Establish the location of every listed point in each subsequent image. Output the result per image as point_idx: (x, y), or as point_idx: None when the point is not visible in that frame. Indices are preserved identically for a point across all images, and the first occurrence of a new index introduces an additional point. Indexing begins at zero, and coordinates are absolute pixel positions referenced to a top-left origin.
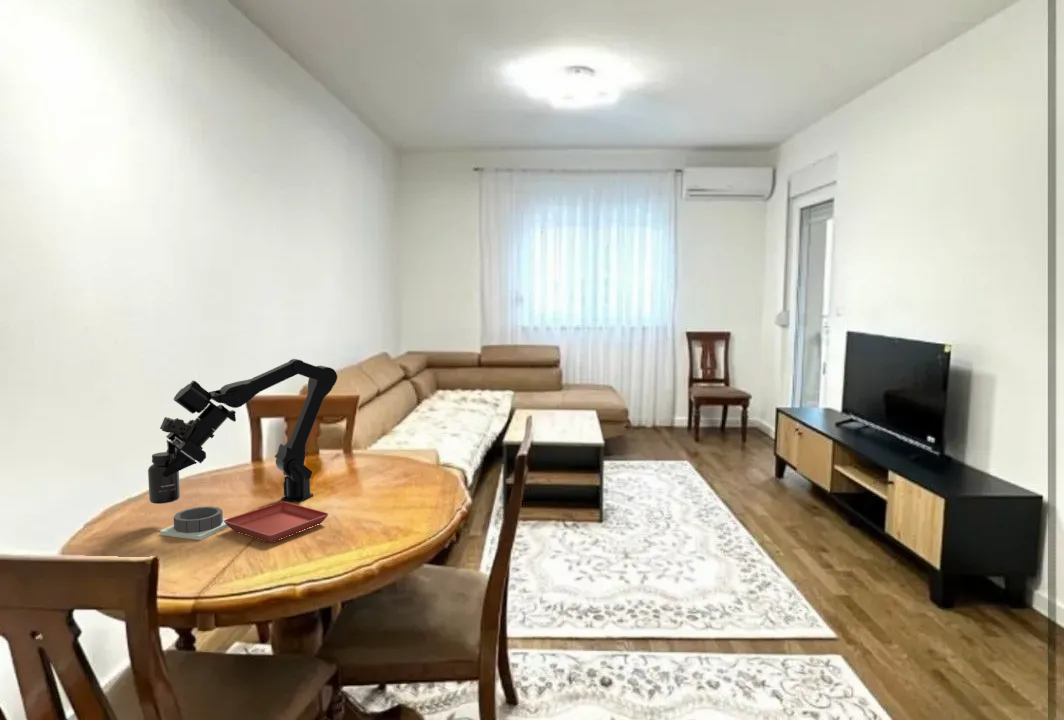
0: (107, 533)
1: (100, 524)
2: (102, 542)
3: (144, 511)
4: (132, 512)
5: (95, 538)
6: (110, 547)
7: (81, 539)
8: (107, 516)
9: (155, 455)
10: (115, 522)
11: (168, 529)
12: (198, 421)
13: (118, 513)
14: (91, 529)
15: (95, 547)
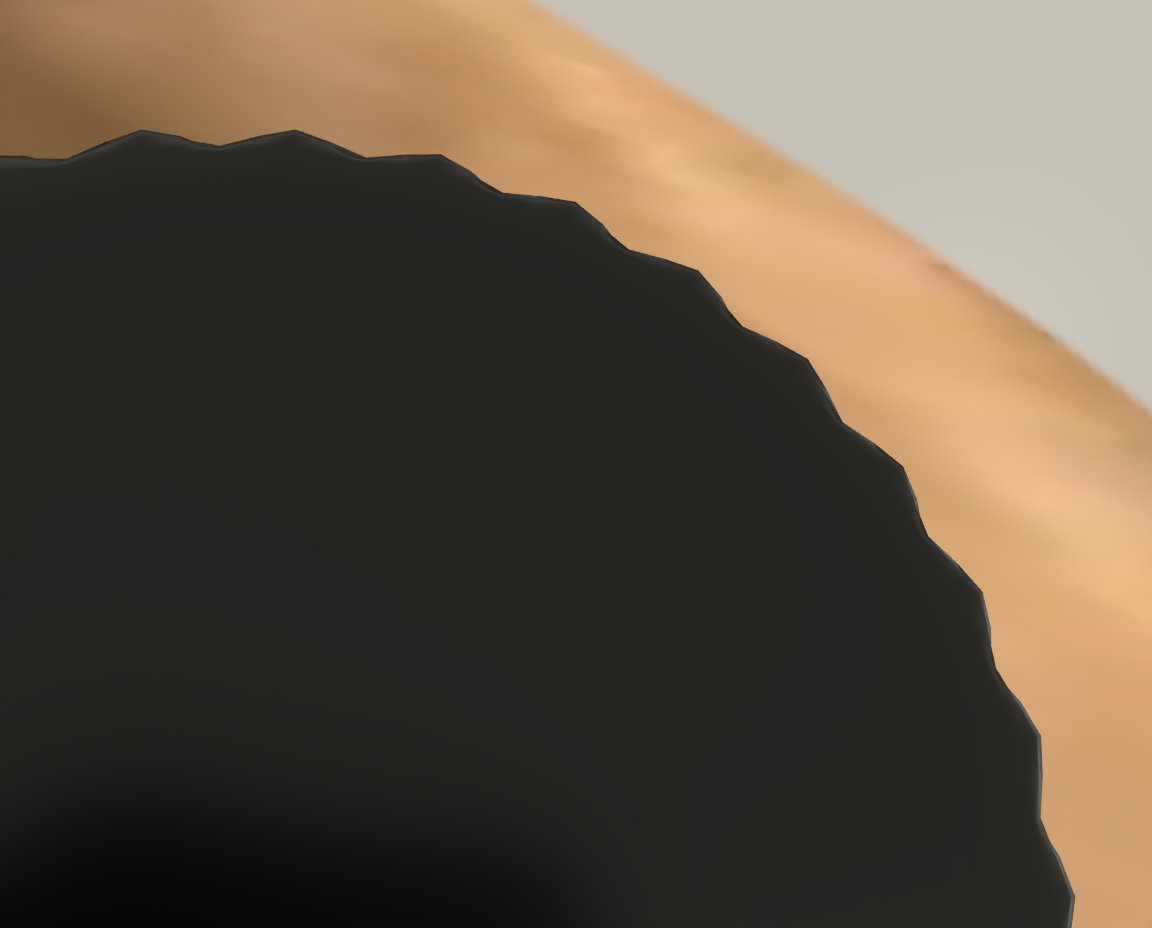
0: None
1: (872, 282)
2: (248, 97)
3: (1047, 774)
4: (1092, 655)
5: (439, 102)
6: (7, 87)
7: (514, 20)
8: (1106, 418)
9: (189, 278)
10: (837, 402)
11: None
12: None
13: (1146, 532)
14: (765, 175)
15: (146, 8)
